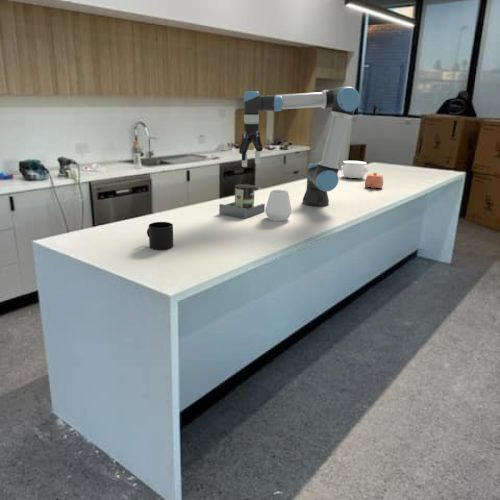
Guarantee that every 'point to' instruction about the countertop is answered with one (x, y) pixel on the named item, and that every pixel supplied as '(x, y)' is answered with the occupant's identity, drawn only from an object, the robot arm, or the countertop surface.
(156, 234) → the mug
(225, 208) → the grey u-shaped frame
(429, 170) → the countertop surface
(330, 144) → the robot arm
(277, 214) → the cup
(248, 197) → the coffee can
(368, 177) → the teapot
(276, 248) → the countertop surface
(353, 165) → the pot
